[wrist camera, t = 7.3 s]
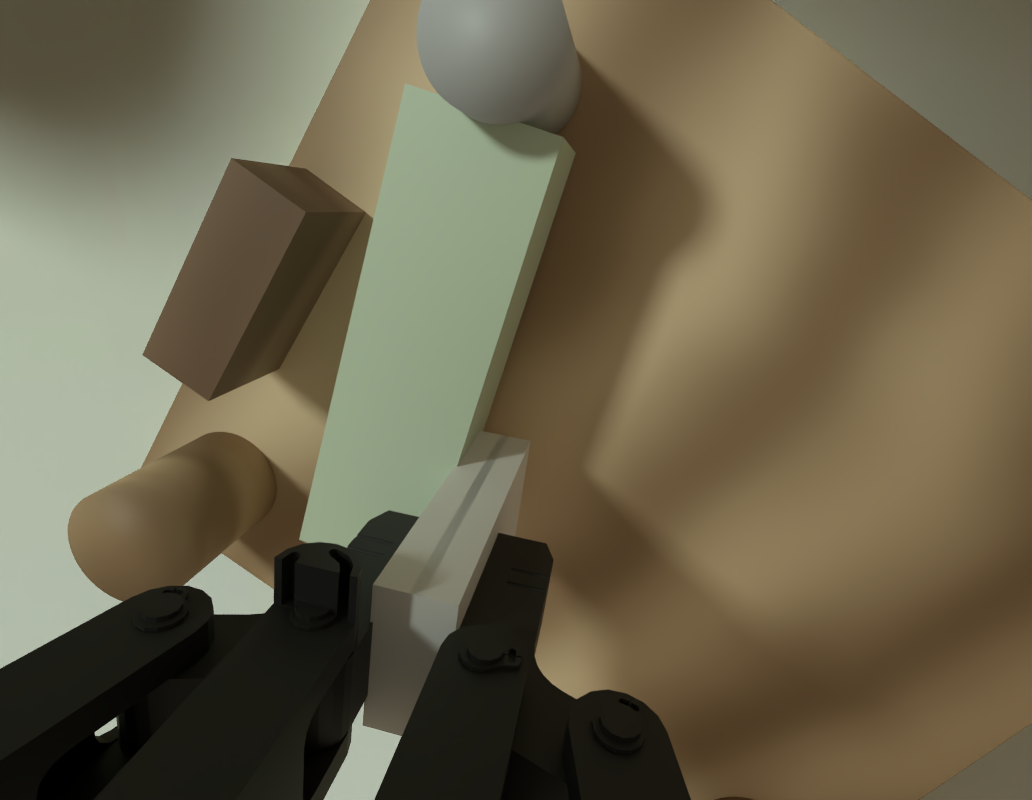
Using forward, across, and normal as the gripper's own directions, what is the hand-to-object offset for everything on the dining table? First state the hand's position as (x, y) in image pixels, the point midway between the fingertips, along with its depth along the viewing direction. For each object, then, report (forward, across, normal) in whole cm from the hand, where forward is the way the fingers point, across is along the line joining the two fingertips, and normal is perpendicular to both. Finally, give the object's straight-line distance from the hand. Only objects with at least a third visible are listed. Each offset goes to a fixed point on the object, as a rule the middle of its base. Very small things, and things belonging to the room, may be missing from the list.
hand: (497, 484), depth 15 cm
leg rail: (+1, -2, +4) cm, 5 cm away
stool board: (+3, +4, 0) cm, 5 cm away
